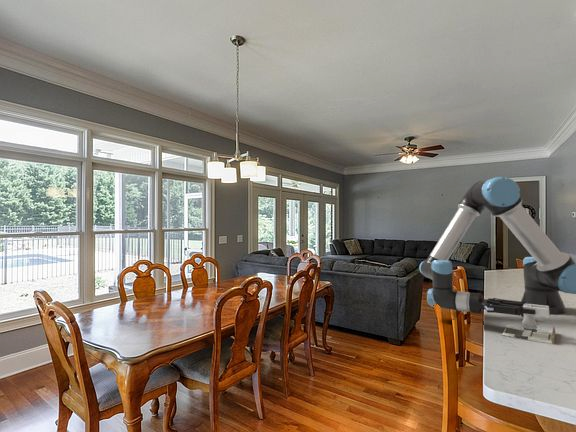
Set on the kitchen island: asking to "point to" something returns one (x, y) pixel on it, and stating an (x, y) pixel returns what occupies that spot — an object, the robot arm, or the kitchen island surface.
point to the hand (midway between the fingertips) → (548, 311)
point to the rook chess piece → (529, 320)
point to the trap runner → (536, 336)
